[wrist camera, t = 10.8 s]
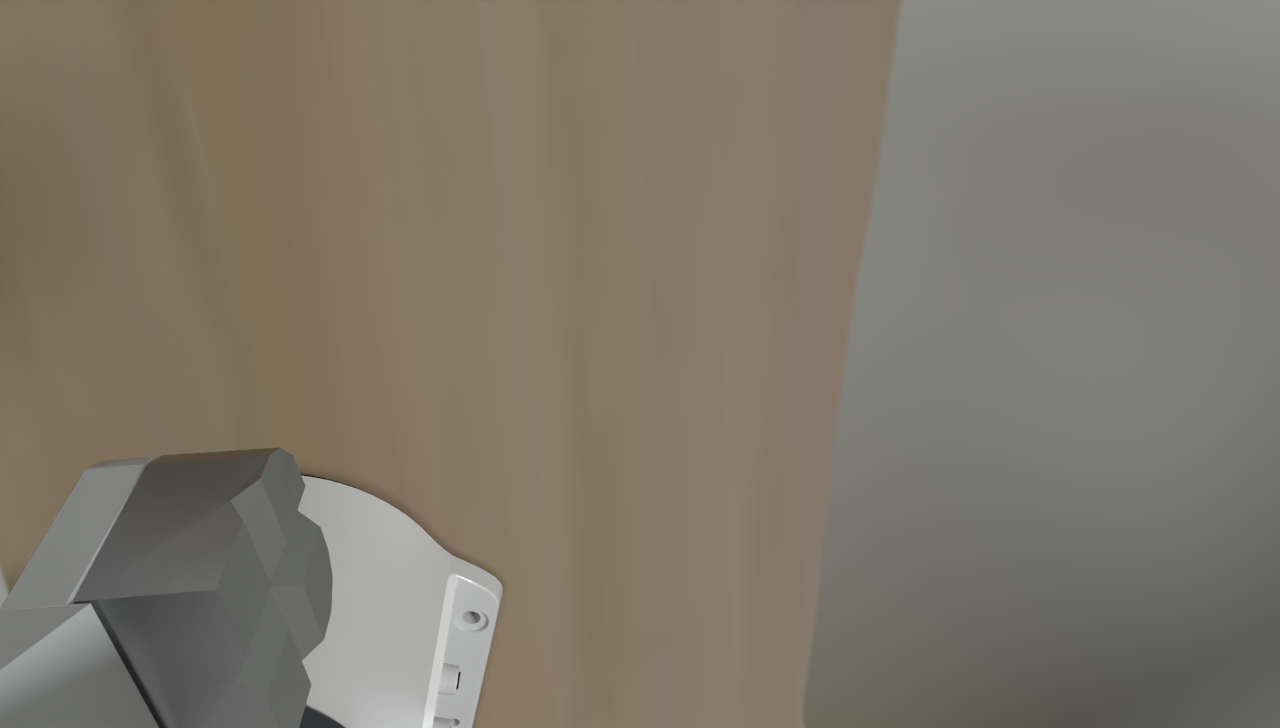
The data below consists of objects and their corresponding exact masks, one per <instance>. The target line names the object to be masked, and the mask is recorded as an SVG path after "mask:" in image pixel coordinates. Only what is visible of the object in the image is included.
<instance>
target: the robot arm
mask: <svg viewBox="0 0 1280 728" xmlns="http://www.w3.org/2000/svg"><path fill="white" fill-rule="evenodd" d="M502 594H503V589H502V585H501V583H500V582H499V581H498V580H497V579H496V578H495V577H494V576H493V575H491V574H490V573H488V572H486V571H485V570H483V569H481V568H479V567H477V566H475V565H473V564H471V563H468V562H466V561H464V560H462V559H460V558H457V557H455V556H453V555H451V554H450V553H448V552H447V551H446V550H444V549H443V548H442V547H441V546H440V545H438V544H437V543H436V542H435V541H434V540H433V539H432V538H431V537H430V536H429V535H428V534H427V533H426V532H425V531H424V530H423V529H422V528H421V527H420V526H419V525H418V524H417V523H415V522H414V521H413V520H412V519H411V518H409V517H408V516H407V515H405V514H404V513H402V512H401V511H399V510H398V509H396V508H395V507H393V506H391V505H390V504H388V503H386V502H385V501H383V500H381V499H379V498H377V497H375V496H373V495H370V494H368V493H366V492H364V491H361V490H358V489H356V488H353V487H350V486H347V485H344V484H341V483H337V482H333V481H329V480H325V479H320V478H315V477H308V476H301V474H300V471H299V469H298V466H297V464H296V462H295V459H294V457H293V455H292V454H291V453H289V452H287V451H285V450H284V449H282V448H266V449H251V450H236V451H222V452H207V453H192V454H177V455H162V456H160V457H142V458H130V459H117V460H105V461H100V462H98V463H96V464H94V465H92V466H91V467H89V468H87V469H85V471H84V472H83V474H82V475H81V477H80V478H79V480H78V482H77V483H76V485H75V487H74V488H73V490H72V492H71V493H70V495H69V497H68V498H67V500H66V501H65V503H64V505H63V506H62V508H61V510H60V511H59V513H58V515H57V516H56V518H55V520H54V521H53V523H52V524H51V526H50V528H49V529H48V531H47V533H46V534H45V536H44V538H43V539H42V541H41V543H40V544H39V546H38V547H37V549H36V551H35V552H34V554H33V556H32V557H31V559H30V561H29V562H28V564H27V566H26V567H25V569H24V570H23V572H22V574H21V575H20V577H19V579H18V580H17V582H16V584H15V585H14V587H13V588H12V590H11V592H10V593H9V595H8V597H7V598H6V600H5V602H4V603H3V605H2V607H1V608H0V728H472V727H473V723H474V718H475V714H476V710H477V705H478V701H479V696H480V692H481V688H482V683H483V679H484V674H485V670H486V665H487V661H488V657H489V652H490V648H491V643H492V639H493V635H494V630H495V626H496V621H497V617H498V612H499V608H500V604H501V599H502ZM470 611H473V612H470Z"/></svg>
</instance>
